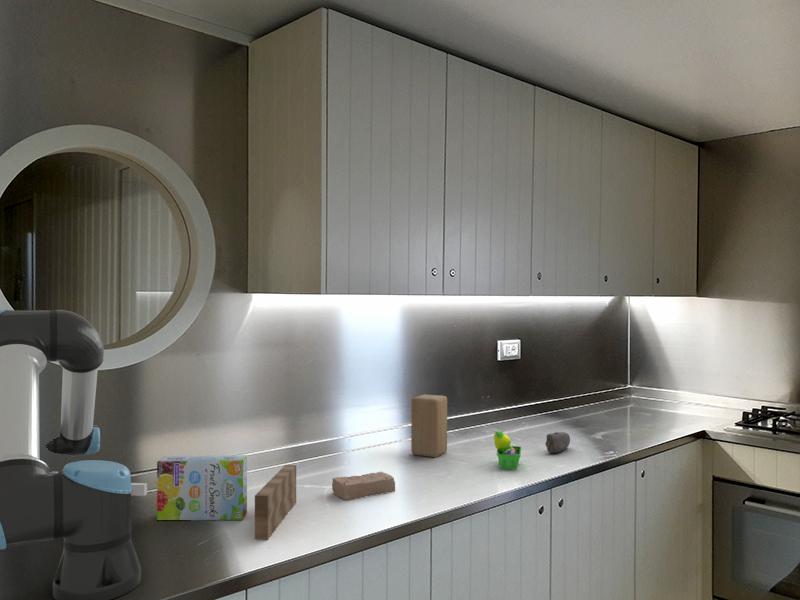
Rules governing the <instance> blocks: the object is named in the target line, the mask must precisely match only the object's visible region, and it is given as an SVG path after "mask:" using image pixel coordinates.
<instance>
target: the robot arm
mask: <svg viewBox="0 0 800 600" xmlns="http://www.w3.org/2000/svg"><path fill="white" fill-rule="evenodd" d="M104 350H105V349H104V343H103V341H102V338H101V335H100V334H99V332H98V331H97V329H96V328H95V326H94V325H92V323H91V322H90V321H89V320H87V319H86V318H85V317H83V316H81V315H80V314H78V313H76V312H73V311H69V310H65V309H56V310H55V309H54V310H51V309H49V310H43V309H42V310H41V309H36V310H33V309H31V310H30V309H29V310H24V309H23V310H22V309H20V310H16V309H15V310H10V309H3V310H0V550H6V549H7V548H12V547H13V548H14V547H18V546H24V545H25V546H26V545H31V544H36V543H37V544H38V543H42V542H48V541H53V540H59V539H60V540H61V539H63V551H62V554H61V557H60V560H59V563H58V566H57V569H56V572H55V574H54V578H53V581H52V596H53V598H54V599H55V600H113V599H116V598H118V597H121V596H123V595H125V594H128V593H130V592H131V591H132V590H134V589H135V588H136V587H138V586H139V584H140V583H141V580H142V567H141V563H140V561H139V559H138V555H137V552H136V550H135V546H134V544H133V542H132V496H139V497H145V496H146V495H148V483H147V482H145V483H144V482H132V480H131V479H132V475H131V471H130V469H129V468H128V467H127V466H125V465H124V464H122V463H118V462H115V461H110V460H109V461H108V460H100V459H99V460H98V459H97V460H96V459H95V460H93V459H89V460H85V459H84V460H77V461H71V462H69V463H66V464H65V465H64V466H63V468H62V471H52V472H49V471H50V467H49V466H48V464H47V463H46V462H44V461H43V460H40V374H41V372H43V371H44V370H45V369H46V366H47V363H48V362H49V363H51V362H58V365H59V366H60V367H61V368H62V378H61V379H62V382H61V383H62V384H61V385H62V386H61V409H60V410H61V411H60V413H61V414H60V429H61V432H60V437H57V438H56V439H53V441H50V442H49V443H47V445H45V446H47V447H46V448H48V450H49V451H51V452H54V453H58V454H59V453H60V454H67V455H68V454H69V455H76V454H77V455H79V454H80V455H81V454H84V456H86V454H87V455H92V454H91V453H93V454H96V452H97V453H98V452H99V451H100V448H101V431H100V427H99V426H98V427H99V428H98V427H93V426H94V418H95V407H96V405H95V404H96V393H97V392H96V391H97V381H98V372H99V371H98V369H99V368H100V367H101V366H102V365H103V362H104V356H105V355H104V353H105V351H104Z"/></svg>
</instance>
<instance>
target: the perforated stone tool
mask: <svg viewBox="0 0 800 600" xmlns="http://www.w3.org/2000/svg"><path fill="white" fill-rule="evenodd" d="M570 443H571V436H570V434H568V432H565V431H558V432H557V431H556V432H551V433H548V434H546V441H545V444H544V445H545V448H546V450H547V452H548V453H551V454H552V453H553V454H557V453H561V452H563V451H565V450H566V449H567V448H568V447H569V446H570Z"/></svg>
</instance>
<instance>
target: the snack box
mask: <svg viewBox="0 0 800 600" xmlns="http://www.w3.org/2000/svg"><path fill="white" fill-rule="evenodd" d="M156 465H157V466H156V520H186V519H187V520H191V521H242V520H244V518H245V517H246V515H247V514H248V456H247V454H238V455H237V454H236V455H234V454H233V455H232V454H231V455H225V454H224V455H223V454H221V455H164V456H163V457H161V458H160V459H158V460H157V462H156Z"/></svg>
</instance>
